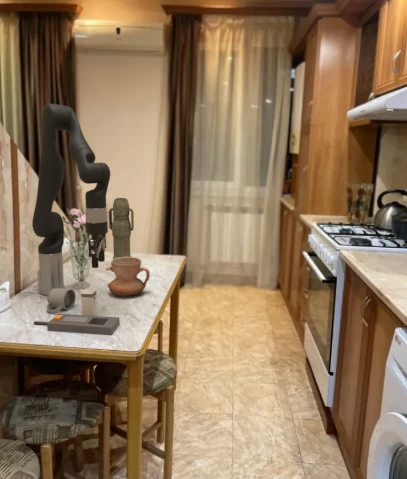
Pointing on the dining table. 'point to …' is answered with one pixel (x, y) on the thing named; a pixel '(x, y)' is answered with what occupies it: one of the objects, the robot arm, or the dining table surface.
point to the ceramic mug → (60, 299)
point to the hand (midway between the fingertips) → (98, 264)
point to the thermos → (121, 227)
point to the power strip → (82, 324)
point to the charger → (89, 302)
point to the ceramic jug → (127, 276)
